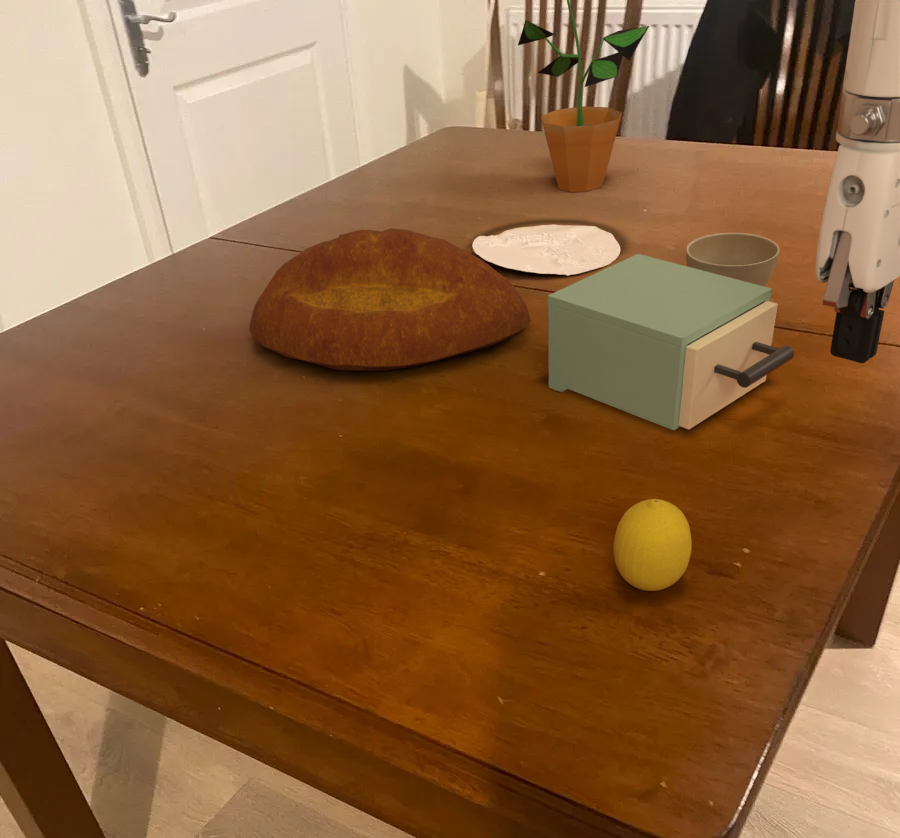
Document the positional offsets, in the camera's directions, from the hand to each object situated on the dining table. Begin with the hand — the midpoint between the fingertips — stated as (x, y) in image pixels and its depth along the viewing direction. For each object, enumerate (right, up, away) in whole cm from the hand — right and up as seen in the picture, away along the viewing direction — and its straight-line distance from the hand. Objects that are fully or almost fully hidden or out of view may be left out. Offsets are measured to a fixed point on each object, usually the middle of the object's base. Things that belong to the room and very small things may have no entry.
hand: (852, 355), depth 77 cm
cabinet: (-13, +1, +17) cm, 22 cm away
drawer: (-11, +1, +14) cm, 18 cm away
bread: (-41, +10, +30) cm, 52 cm away
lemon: (-19, -20, -7) cm, 28 cm away
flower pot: (-2, +13, +30) cm, 33 cm away
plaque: (-21, +27, +49) cm, 59 cm away
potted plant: (-13, +46, +70) cm, 85 cm away
